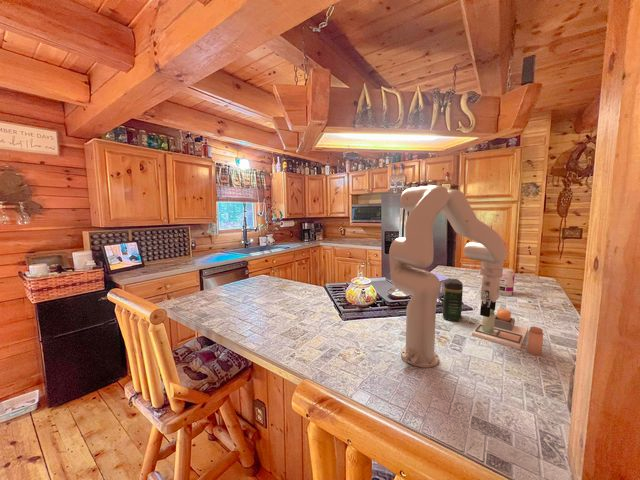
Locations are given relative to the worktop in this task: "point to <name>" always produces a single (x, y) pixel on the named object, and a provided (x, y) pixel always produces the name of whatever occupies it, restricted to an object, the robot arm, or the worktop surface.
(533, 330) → the peach cylinder
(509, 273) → the supplement can
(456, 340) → the worktop surface
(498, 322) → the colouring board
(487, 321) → the cylinder
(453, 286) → the coffee jar
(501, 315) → the button
